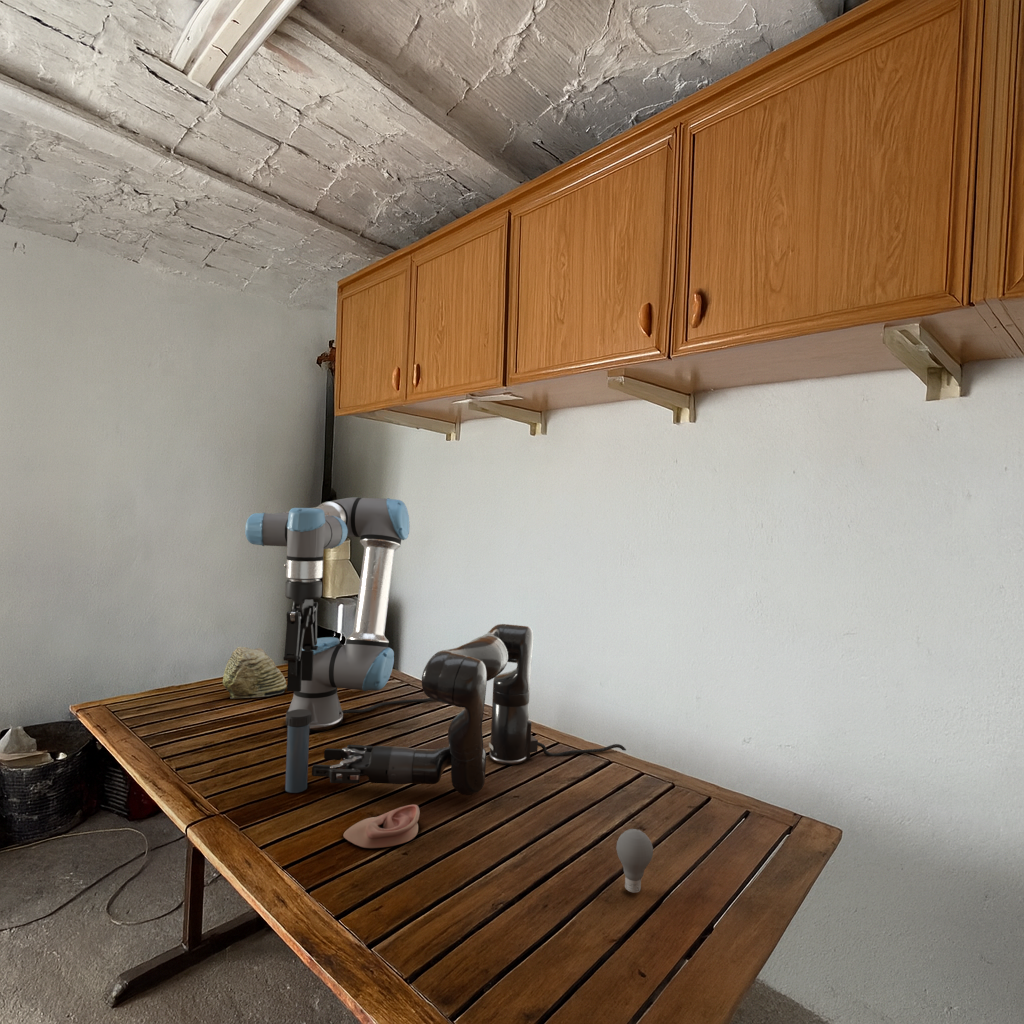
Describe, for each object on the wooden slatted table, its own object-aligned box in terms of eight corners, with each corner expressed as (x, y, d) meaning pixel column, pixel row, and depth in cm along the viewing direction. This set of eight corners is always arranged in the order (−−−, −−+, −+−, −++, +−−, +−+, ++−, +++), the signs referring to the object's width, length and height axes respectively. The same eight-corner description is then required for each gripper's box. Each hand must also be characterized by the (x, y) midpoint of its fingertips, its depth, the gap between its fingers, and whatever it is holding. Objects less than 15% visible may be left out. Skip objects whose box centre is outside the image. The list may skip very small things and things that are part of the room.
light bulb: (610, 879, 108) (613, 822, 108) (644, 879, 109) (647, 822, 109) (619, 902, 102) (622, 840, 102) (655, 901, 103) (658, 840, 103)
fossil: (218, 695, 195) (220, 647, 195) (278, 685, 208) (279, 640, 207) (228, 703, 189) (230, 653, 188) (289, 692, 201) (290, 645, 201)
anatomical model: (336, 822, 116) (363, 794, 127) (335, 843, 116) (362, 813, 127) (404, 832, 113) (426, 803, 124) (403, 854, 113) (425, 823, 124)
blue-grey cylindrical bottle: (304, 792, 135) (307, 718, 135) (282, 793, 135) (285, 718, 134) (309, 783, 140) (311, 711, 139) (287, 783, 139) (290, 711, 139)
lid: (308, 727, 135) (308, 717, 135) (283, 727, 134) (283, 717, 134) (313, 718, 140) (313, 709, 140) (289, 718, 139) (289, 709, 139)
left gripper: (301, 573, 146) (298, 671, 147) (269, 585, 126) (265, 699, 127) (334, 574, 146) (330, 673, 147) (306, 586, 126) (302, 700, 127)
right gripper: (399, 735, 144) (328, 732, 144) (387, 761, 130) (308, 758, 130) (398, 768, 144) (327, 765, 144) (386, 797, 130) (307, 794, 130)
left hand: (300, 685), depth 137 cm, fingers open, 7 cm apart
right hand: (318, 761), depth 137 cm, fingers open, 8 cm apart
